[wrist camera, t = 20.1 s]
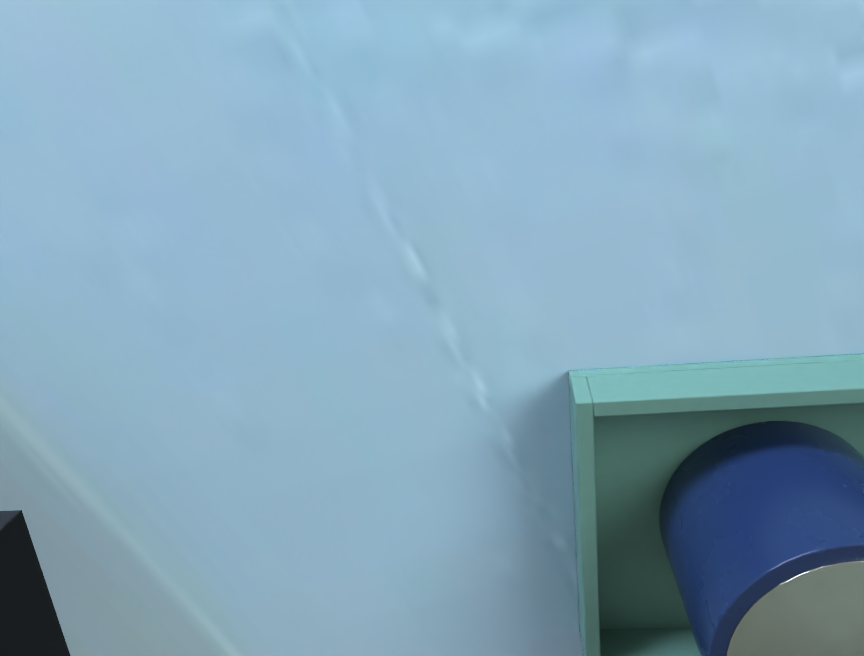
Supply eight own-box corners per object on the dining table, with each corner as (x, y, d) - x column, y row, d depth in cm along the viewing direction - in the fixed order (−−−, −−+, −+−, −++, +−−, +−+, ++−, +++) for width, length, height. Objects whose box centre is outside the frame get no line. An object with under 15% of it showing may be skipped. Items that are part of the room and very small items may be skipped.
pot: (659, 602, 41) (658, 426, 38) (868, 596, 40) (888, 413, 36) (705, 764, 32) (710, 551, 28) (981, 764, 31) (1024, 540, 27)
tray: (579, 630, 44) (586, 681, 40) (568, 370, 38) (575, 402, 34) (938, 624, 41) (979, 677, 38) (982, 346, 36) (1035, 378, 32)
